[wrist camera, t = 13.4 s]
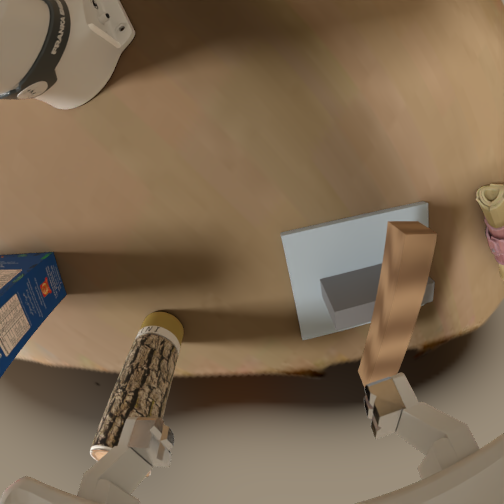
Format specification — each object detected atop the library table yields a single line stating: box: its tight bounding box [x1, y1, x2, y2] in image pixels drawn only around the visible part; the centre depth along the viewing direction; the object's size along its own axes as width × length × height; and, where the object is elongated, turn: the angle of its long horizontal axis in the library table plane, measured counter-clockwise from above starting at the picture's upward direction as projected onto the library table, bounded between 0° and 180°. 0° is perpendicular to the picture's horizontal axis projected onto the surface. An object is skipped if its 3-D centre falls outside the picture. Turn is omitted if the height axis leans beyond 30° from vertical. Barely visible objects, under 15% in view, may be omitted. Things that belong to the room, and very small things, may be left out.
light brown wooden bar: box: [358, 221, 437, 387], centre depth 30 cm, size 22×4×4 cm, turn 2°
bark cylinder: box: [90, 312, 184, 477], centre depth 32 cm, size 7×7×25 cm
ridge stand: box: [281, 201, 435, 340], centre depth 36 cm, size 22×18×9 cm
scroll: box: [476, 184, 504, 280], centre depth 35 cm, size 8×8×20 cm
